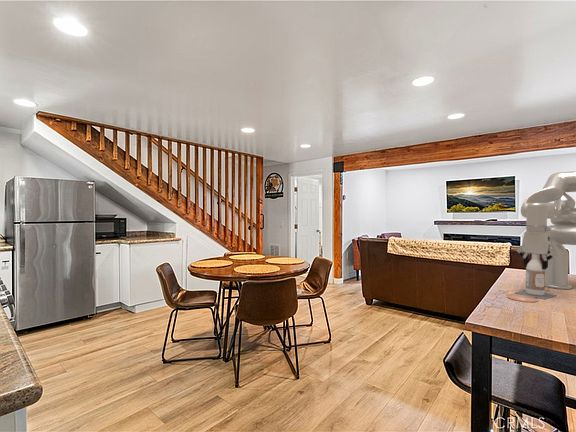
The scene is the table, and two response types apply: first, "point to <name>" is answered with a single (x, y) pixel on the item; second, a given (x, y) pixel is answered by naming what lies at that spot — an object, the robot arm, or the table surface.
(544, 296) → the tile
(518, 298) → the flat salmon disc
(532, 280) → the bath foam
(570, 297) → the table surface
